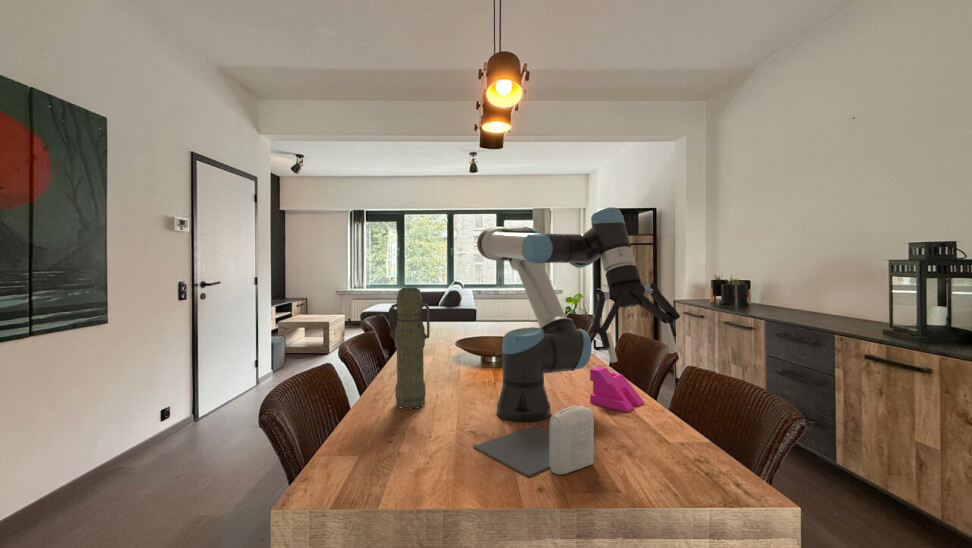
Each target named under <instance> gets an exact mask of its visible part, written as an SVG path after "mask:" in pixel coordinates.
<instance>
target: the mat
mask: <svg viewBox="0 0 972 548" xmlns="http://www.w3.org/2000/svg"><path fill="white" fill-rule="evenodd" d="M473 447H474V448H473ZM472 448H473V449H475V448H476V449H475V450H477V451H479V452H480V451H481V454H482V453H483V454H484V455H486V456H488V457H490V458H492V459H494V461H495V460H496V461H497V462H499V463H500V464H503V465H505V466H506V467H508V468H509V469H512V470H514V471H516V472H518V473H520V474H521V475H523V476H525V477H527V478H530V477H533V476H535V475H537V474H539V473H543V472H544V471H547V470H550V469H551V468H550V466H549V429H546V428H543V427H541V426H538V425H536V424H535V425H531V426H528V427H525V428H522V429H519V430H517V431H513V432H510V433H507V434H504V435H502V436H498V437H496V438H492V439H490V440H487V441H484V442H481V443H478V444H475V445H472Z"/></svg>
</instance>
